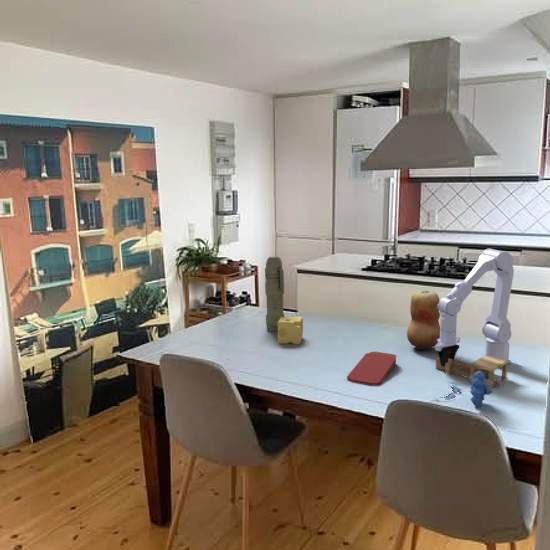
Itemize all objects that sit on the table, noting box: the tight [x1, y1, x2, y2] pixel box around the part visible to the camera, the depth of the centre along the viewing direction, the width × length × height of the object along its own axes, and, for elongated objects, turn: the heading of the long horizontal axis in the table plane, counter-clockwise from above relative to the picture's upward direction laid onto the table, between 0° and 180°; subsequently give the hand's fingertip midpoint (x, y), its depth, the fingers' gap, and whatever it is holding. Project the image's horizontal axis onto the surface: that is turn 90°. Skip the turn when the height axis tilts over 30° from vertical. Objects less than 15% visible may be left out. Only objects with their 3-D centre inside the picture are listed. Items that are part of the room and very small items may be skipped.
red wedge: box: [346, 351, 397, 386], centre depth 200 cm, size 12×5×25 cm
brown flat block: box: [484, 373, 509, 388], centre depth 187 cm, size 6×6×2 cm
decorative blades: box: [434, 383, 462, 401], centre depth 179 cm, size 20×1×10 cm
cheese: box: [277, 316, 304, 345], centre depth 240 cm, size 10×11×10 cm
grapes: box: [469, 371, 494, 408], centre depth 167 cm, size 12×7×12 cm, turn 150°
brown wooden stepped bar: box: [435, 356, 489, 378], centre depth 196 cm, size 8×19×4 cm, turn 43°
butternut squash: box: [406, 289, 441, 351], centre depth 222 cm, size 14×13×25 cm
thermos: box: [264, 256, 286, 332], centre depth 256 cm, size 9×12×35 cm
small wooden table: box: [469, 355, 509, 389], centre depth 189 cm, size 12×8×7 cm, turn 134°
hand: (446, 364), depth 200 cm, fingers closed on brown wooden stepped bar, 3 cm apart
